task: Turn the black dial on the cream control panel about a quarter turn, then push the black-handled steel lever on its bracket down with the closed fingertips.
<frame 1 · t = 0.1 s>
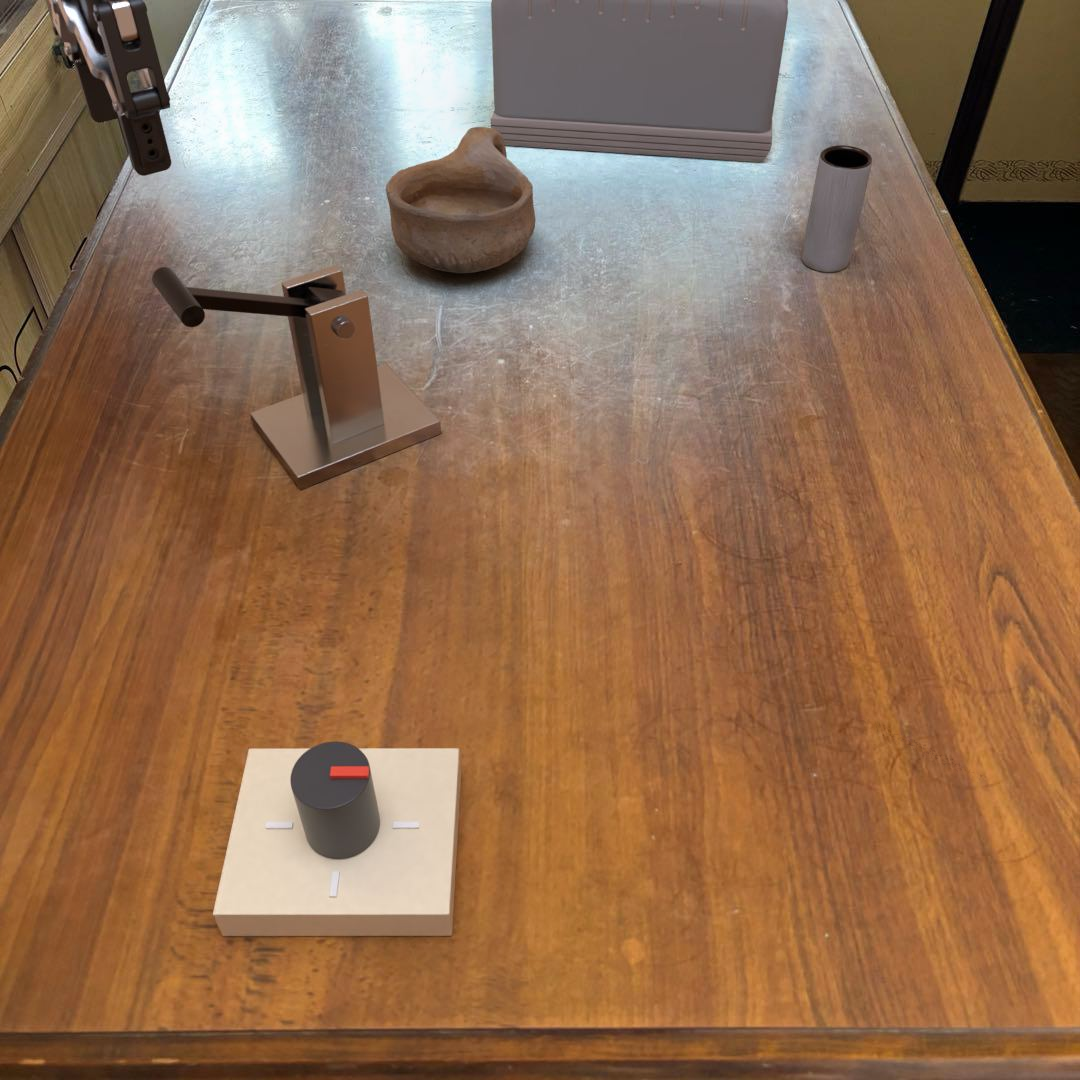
hand: (130, 143, 69), 24 cm above the table, tool pointing down, fingers open, 8 cm apart
dial: (336, 799, 57), point 5 cm above the table, hinge at 0.0°
bowl: (466, 246, 106), on the table
toaster: (641, 87, 132), on the table
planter: (824, 261, 104), on the table
bracket: (346, 429, 87), on the table
lever: (260, 304, 75), point 13 cm above the table, hinge at 25.0°
dial panel: (348, 849, 61), on the table
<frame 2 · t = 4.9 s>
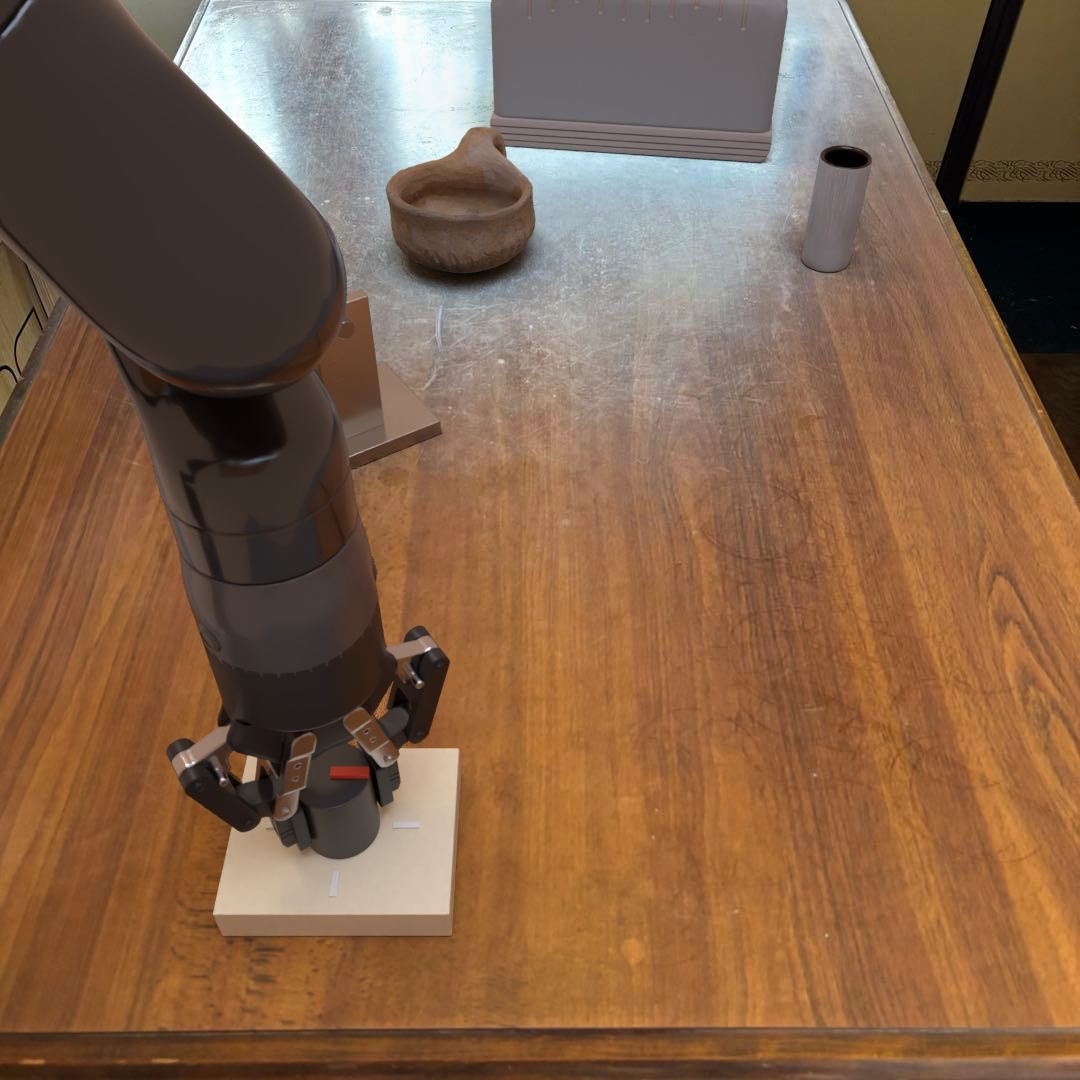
hand: (339, 813, 58), 4 cm above the table, tool pointing down, fingers closed on dial, 4 cm apart
dial: (336, 799, 57), point 5 cm above the table, hinge at 0.0°, touching gripper
everything else where it was.
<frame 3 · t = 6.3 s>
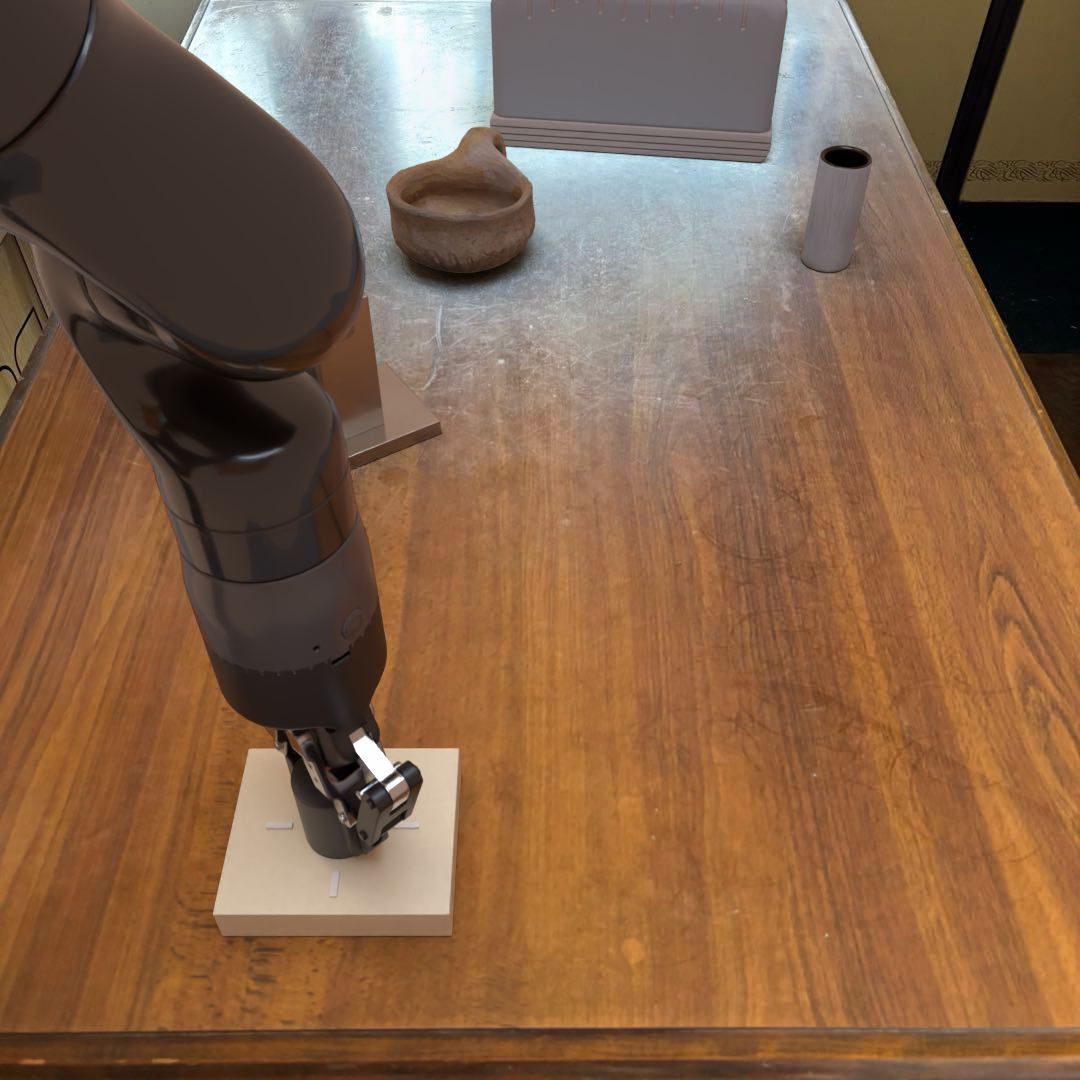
hand: (341, 812, 58), 4 cm above the table, tool pointing down, fingers closed on dial, 4 cm apart
dial: (336, 799, 57), point 5 cm above the table, hinge at 101.5°, touching gripper
everything else where it was.
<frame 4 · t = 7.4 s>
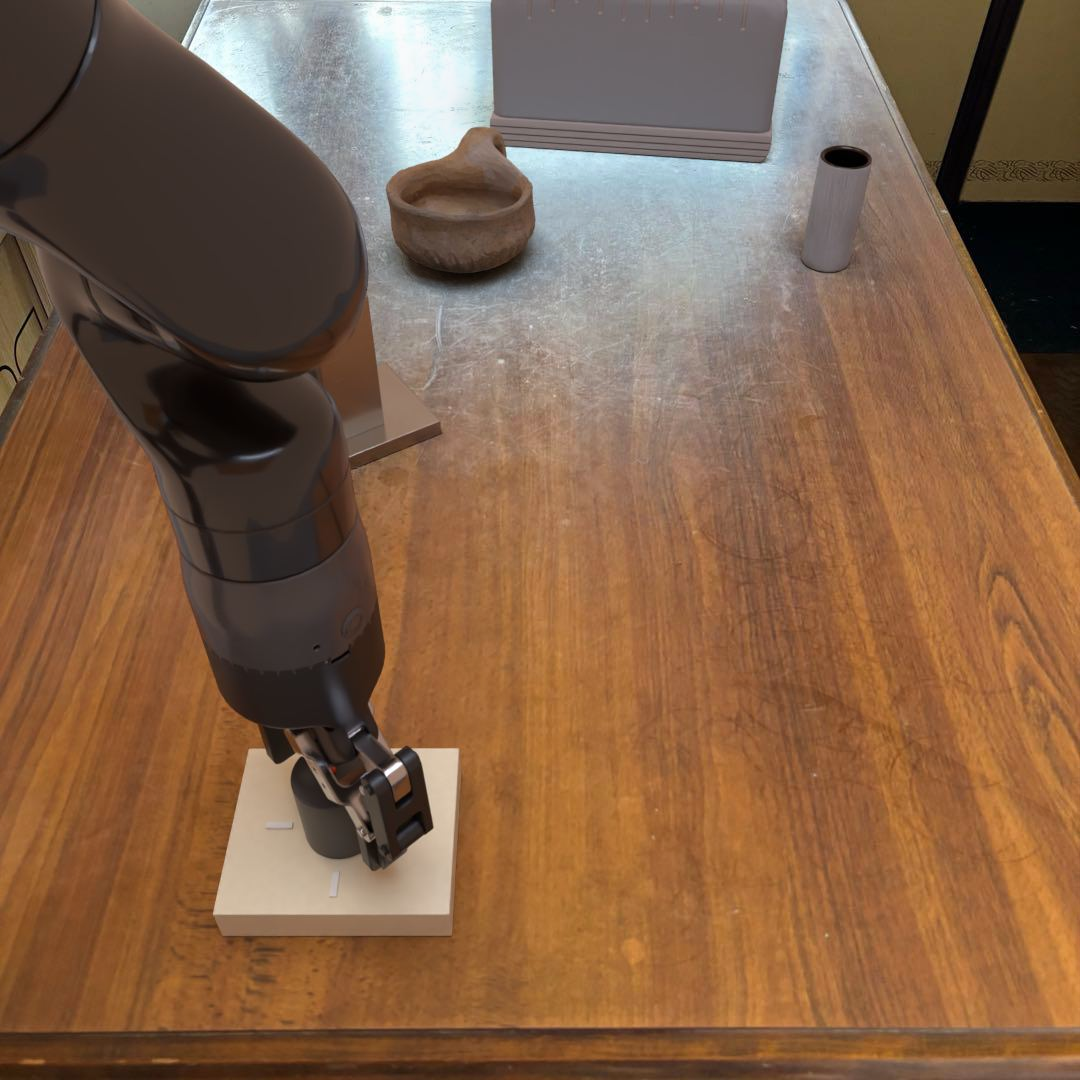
hand: (335, 802, 58), 5 cm above the table, tool pointing down, fingers open, 8 cm apart
dial: (336, 799, 57), point 5 cm above the table, hinge at 100.2°
everything else where it was.
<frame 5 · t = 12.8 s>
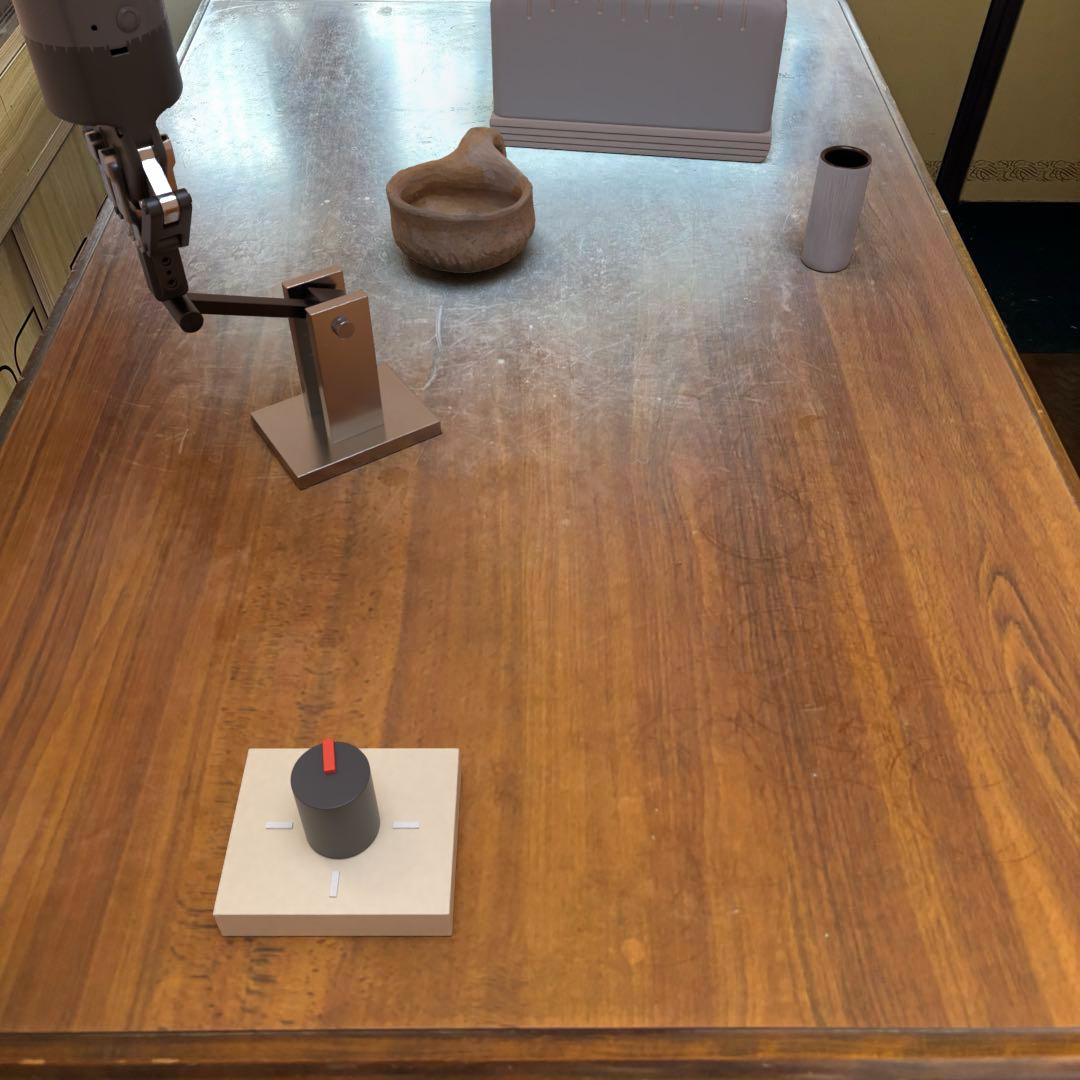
hand: (170, 293, 71), 16 cm above the table, tool pointing down, fingers closed
lever: (259, 306, 76), point 13 cm above the table, hinge at 22.8°, touching gripper
everything else where it was.
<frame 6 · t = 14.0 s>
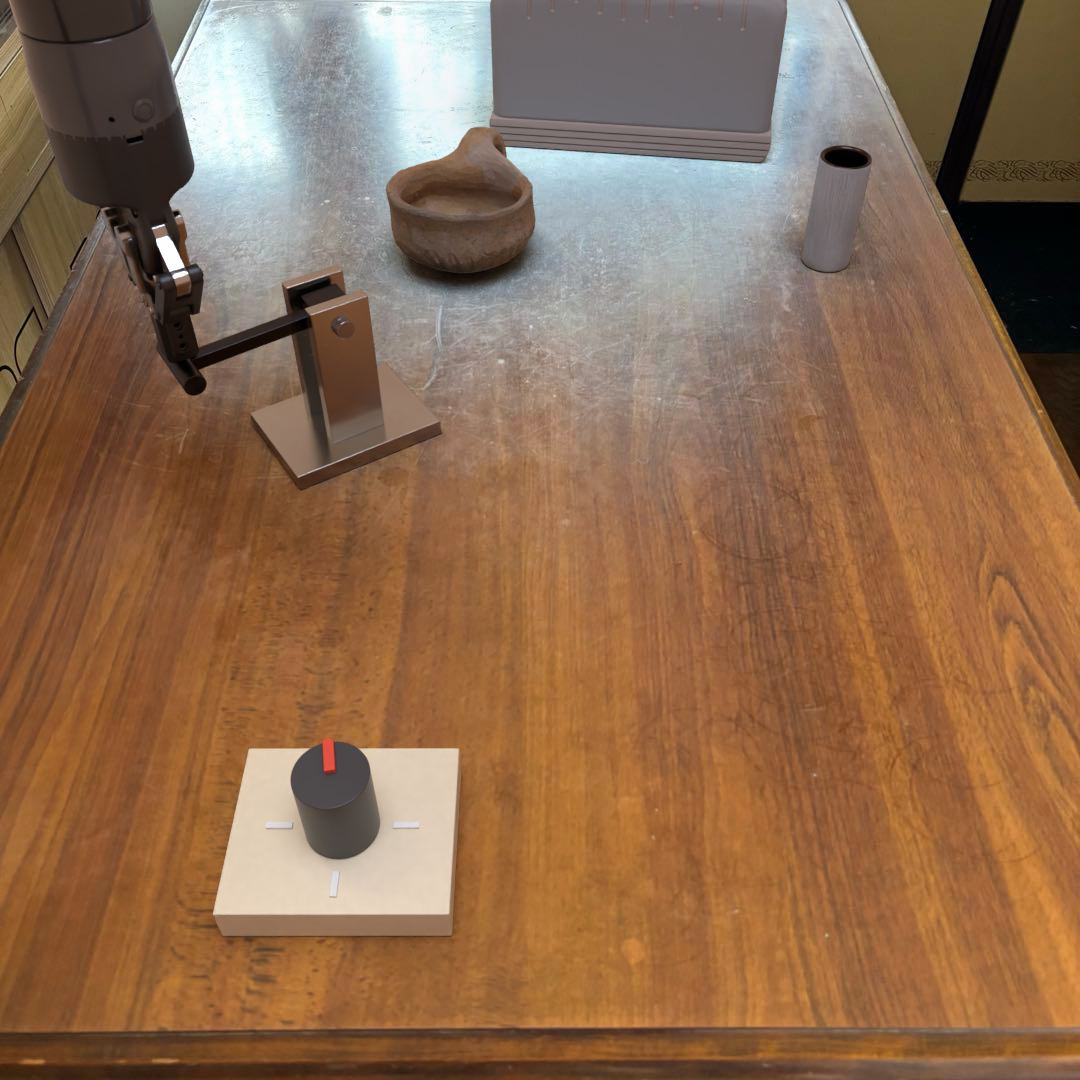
hand: (181, 354, 74), 11 cm above the table, tool pointing down, fingers closed
lever: (260, 335, 77), point 11 cm above the table, hinge at -2.2°
everything else where it was.
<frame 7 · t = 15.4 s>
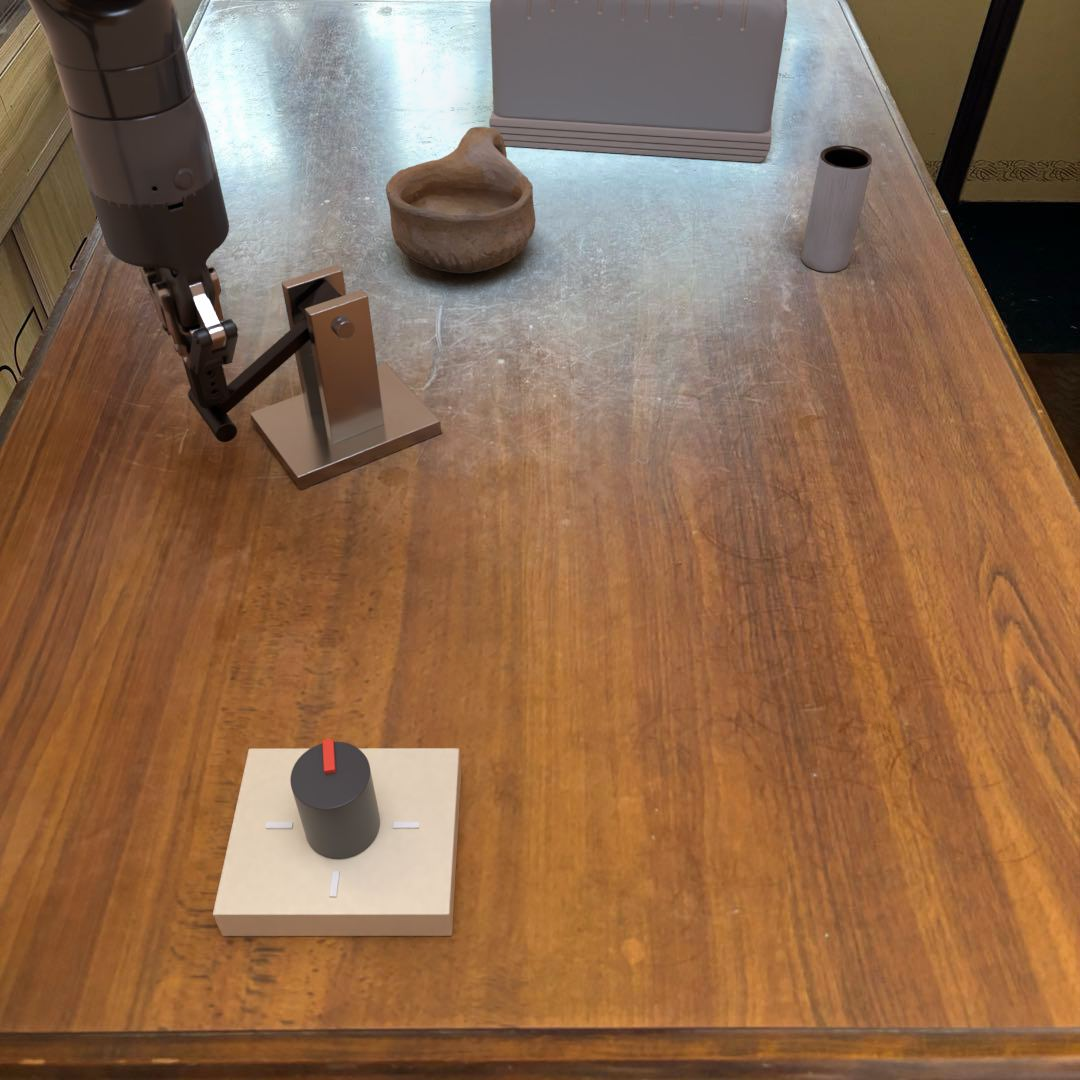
hand: (212, 399, 78), 7 cm above the table, tool pointing down, fingers closed
lever: (273, 358, 79), point 9 cm above the table, hinge at -27.2°, touching gripper
everything else where it was.
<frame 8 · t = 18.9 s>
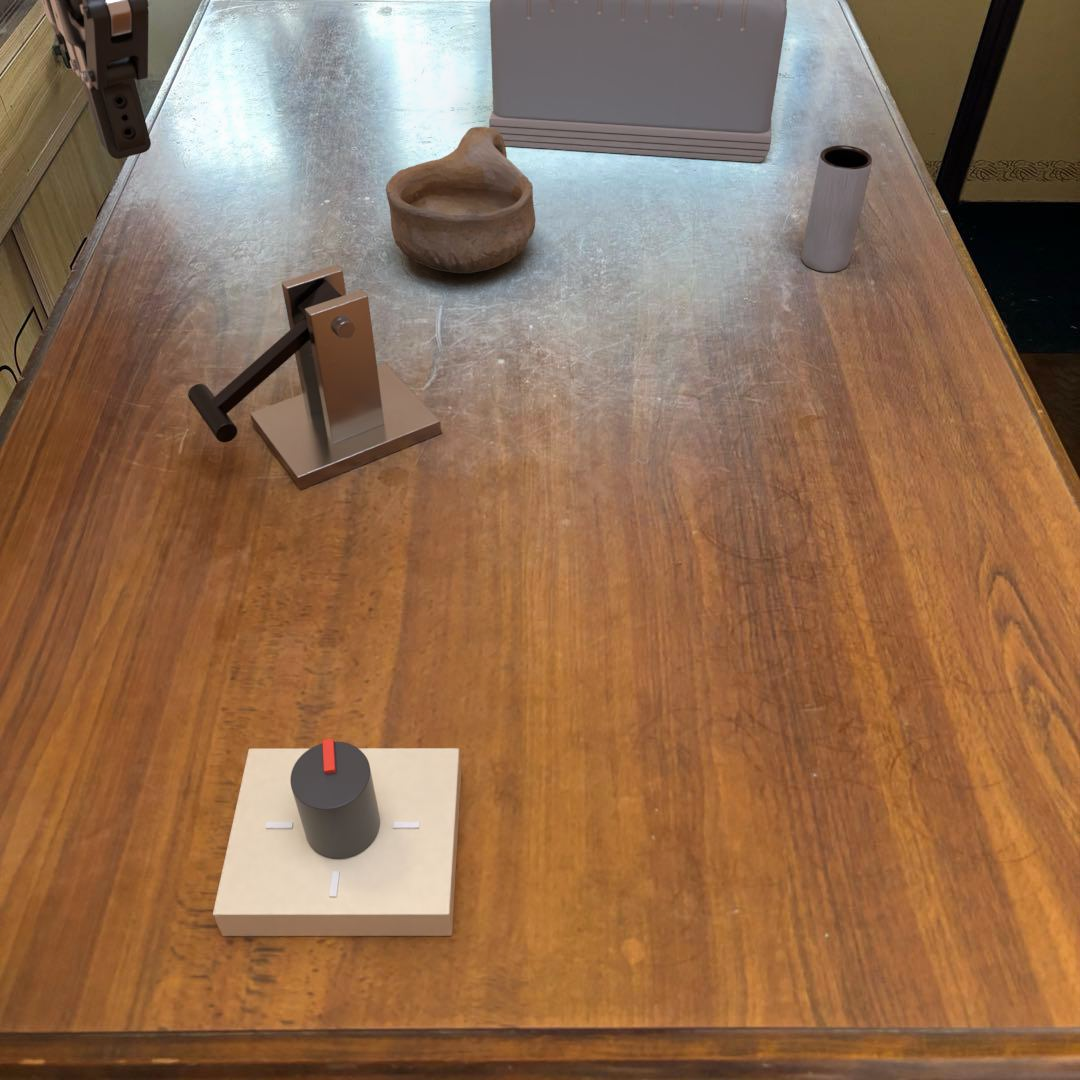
hand: (127, 149, 57), 29 cm above the table, tool pointing down, fingers closed
lever: (273, 358, 79), point 9 cm above the table, hinge at -27.2°
everything else where it was.
at the end: dial at +100° (first picture: +0°); lever at -27° (first picture: +25°) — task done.
